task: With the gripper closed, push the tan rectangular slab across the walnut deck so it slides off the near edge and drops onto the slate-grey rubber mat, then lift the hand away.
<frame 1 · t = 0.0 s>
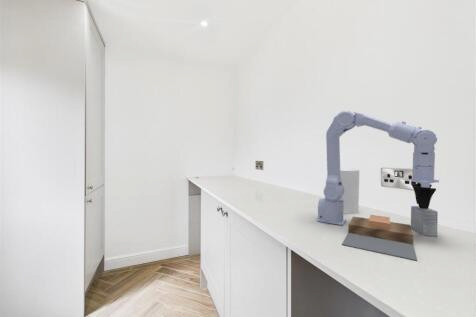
hand: (422, 206, 77), 10 cm above the table, tool pointing down, fingers open, 7 cm apart
canister: (342, 210, 111), on the table
medicine box: (423, 233, 81), on the table
tan rectangular slab: (379, 224, 80), point 3 cm above the table, touching deck
deck: (379, 233, 80), on the table
mat: (377, 245, 69), on the table
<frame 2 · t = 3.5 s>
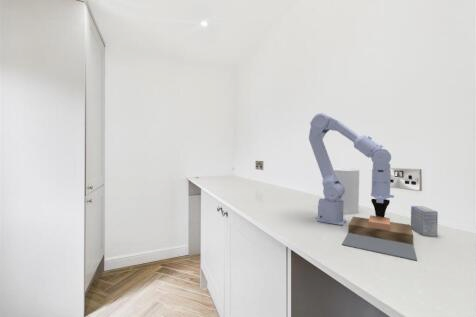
hand: (379, 219, 83), 4 cm above the table, tool pointing down, fingers closed
tan rectangular slab: (379, 225, 79), point 3 cm above the table
everything else where it was.
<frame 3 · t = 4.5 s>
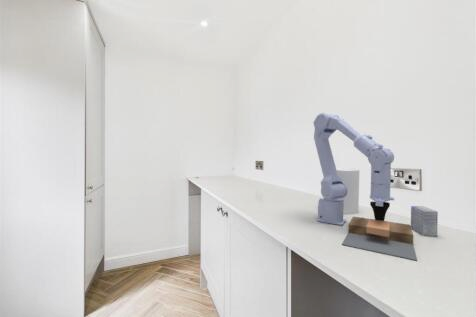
hand: (379, 223, 79), 4 cm above the table, tool pointing down, fingers closed
tan rectangular slab: (378, 230, 74), point 3 cm above the table, touching gripper
everything else where it was.
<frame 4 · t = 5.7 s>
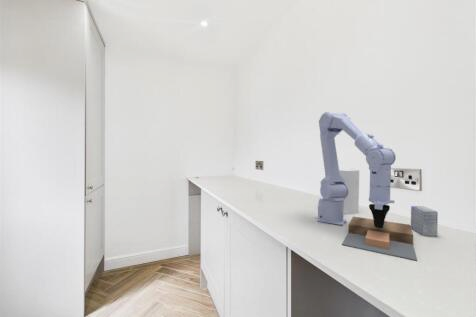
hand: (378, 227, 74), 4 cm above the table, tool pointing down, fingers closed
tan rectangular slab: (377, 242, 71), resting on mat
everything else where it was.
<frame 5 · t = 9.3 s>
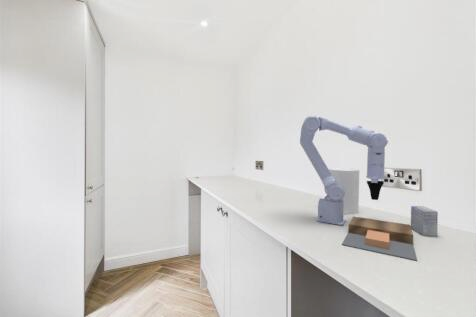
hand: (374, 199, 89), 10 cm above the table, tool pointing down, fingers closed
nothing on the table moved.
at the end: tan rectangular slab inside the target area (2.5 cm from its centre), resting on mat; tan rectangular slab touching mat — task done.
